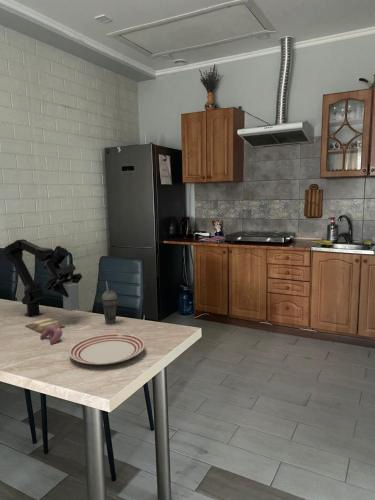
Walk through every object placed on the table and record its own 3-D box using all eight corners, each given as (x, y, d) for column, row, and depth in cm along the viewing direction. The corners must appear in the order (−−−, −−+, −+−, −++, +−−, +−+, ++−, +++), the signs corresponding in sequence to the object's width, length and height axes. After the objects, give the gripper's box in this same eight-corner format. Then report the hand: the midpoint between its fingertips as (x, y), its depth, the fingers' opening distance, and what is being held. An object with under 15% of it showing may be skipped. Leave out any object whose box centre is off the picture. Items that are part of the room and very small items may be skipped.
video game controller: (59, 346, 153) (66, 329, 154) (50, 344, 149) (56, 327, 151) (48, 340, 159) (54, 324, 161) (38, 338, 156) (44, 322, 158)
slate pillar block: (63, 309, 176) (62, 284, 174) (72, 306, 180) (70, 282, 178) (70, 311, 173) (69, 285, 171) (79, 308, 177) (78, 283, 176)
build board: (25, 326, 173) (25, 321, 172) (47, 320, 181) (47, 315, 181) (42, 333, 163) (41, 327, 163) (64, 327, 171) (64, 321, 171)
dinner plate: (112, 377, 122) (111, 367, 121) (53, 361, 135) (52, 352, 134) (159, 348, 145) (158, 340, 145) (104, 337, 159) (104, 329, 158)
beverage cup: (116, 325, 173) (115, 282, 171) (100, 325, 173) (99, 282, 171) (119, 320, 180) (118, 279, 178) (104, 320, 180) (103, 279, 178)
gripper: (46, 261, 168) (63, 289, 163) (79, 256, 183) (95, 281, 179) (36, 277, 173) (53, 304, 168) (69, 271, 189) (85, 295, 184)
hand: (72, 295), depth 175 cm, fingers closed on slate pillar block, 5 cm apart
